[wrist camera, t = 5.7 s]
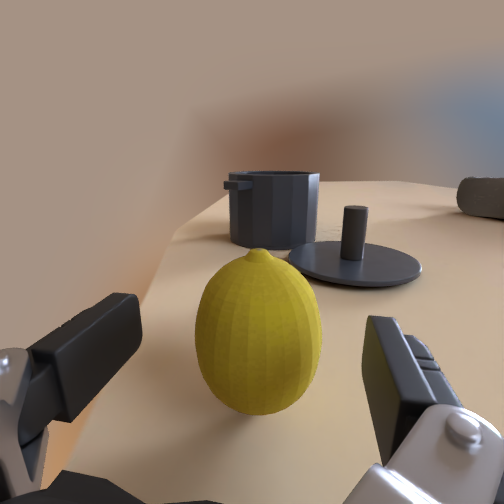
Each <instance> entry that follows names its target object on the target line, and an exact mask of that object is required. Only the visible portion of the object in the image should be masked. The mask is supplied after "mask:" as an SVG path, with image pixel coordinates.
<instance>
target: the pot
mask: <svg viewBox="0 0 504 504" xmlns="http://www.w3.org/2000/svg"><path fill="white" fill-rule="evenodd" d="M319 176H320V173H316V172H303V171H242V172H230V173H229V181H224V189H225V190H229V213H230V239H231V241H232V242H233V243H235V244H237V245H240V246H244V247H248V248H254V249H255V248H262V249H266V250H287V249H294V248H296V247H298V246H301V245H304V244H308V243H313V242H314V241H315V236H316V223H317V208H318V192H319Z"/></svg>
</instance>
